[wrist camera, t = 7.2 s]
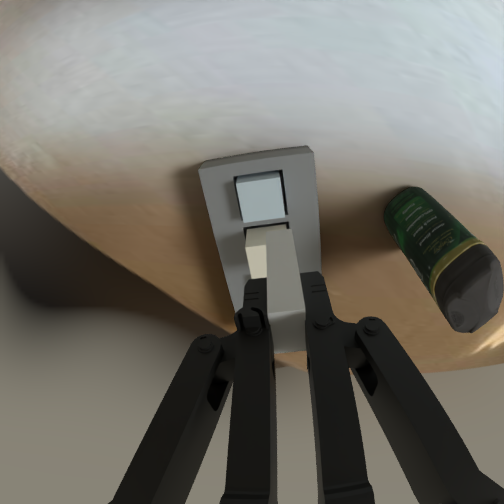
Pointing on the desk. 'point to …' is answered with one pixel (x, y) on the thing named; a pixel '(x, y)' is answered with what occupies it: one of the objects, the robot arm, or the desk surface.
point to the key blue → (260, 196)
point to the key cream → (258, 249)
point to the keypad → (234, 229)
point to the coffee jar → (446, 259)
